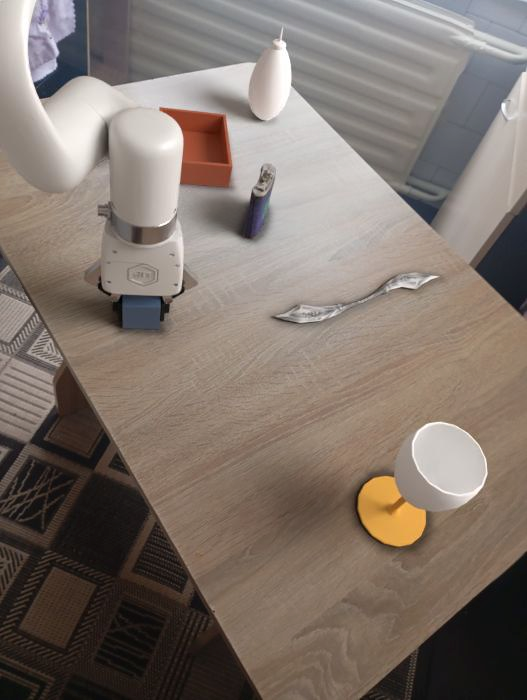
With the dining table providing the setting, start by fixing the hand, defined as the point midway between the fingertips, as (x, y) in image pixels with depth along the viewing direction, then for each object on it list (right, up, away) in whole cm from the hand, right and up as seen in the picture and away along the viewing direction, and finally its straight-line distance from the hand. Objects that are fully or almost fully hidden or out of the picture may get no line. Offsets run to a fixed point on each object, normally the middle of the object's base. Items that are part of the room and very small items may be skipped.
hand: (141, 312), depth 80 cm
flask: (+16, +16, +17) cm, 28 cm away
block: (0, 0, +1) cm, 1 cm away
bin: (+4, +30, +23) cm, 38 cm away
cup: (+33, -26, -9) cm, 43 cm away
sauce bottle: (+17, +42, +35) cm, 57 cm away
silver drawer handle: (+33, +3, +11) cm, 35 cm away
